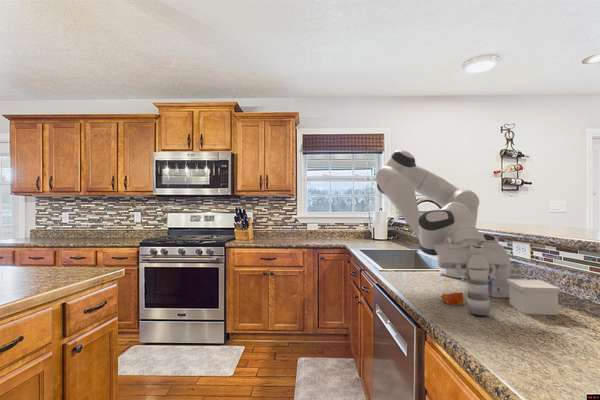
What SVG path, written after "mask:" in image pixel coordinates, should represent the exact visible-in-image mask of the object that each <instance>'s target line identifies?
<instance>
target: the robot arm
mask: <svg viewBox="0 0 600 400" xmlns="http://www.w3.org/2000/svg"><path fill="white" fill-rule="evenodd" d="M375 180H376V183H377V184H376V187H377V191H378V192H380V193H381V194H383V195H385V196H386V197H387V199H388V200H389V201H390V203H392V205H393V206H394V207H395V208H396V210H397V211H398V212H399V214H400V215H401V217H402V218H403V220H404V221H405V222H406V224H407V225H408V227H409V228H410V229H411V231H412V232H413V234H414V235H415V237H416V238H417V240H418V241H417V242H418V246H419V249H420V250H421V251H422V252H423V253H424V254H426V255H429V256H436V259H437V265H438V270H439V275H441V276H447V277H452V278H457V279H461V281H467V282H468V279H469V277H468V274H467V272H466V265H465V263H466V261H467V259H468V258H469V256H470V255H471V253H470V247H471V246H479V247H484V254H483V256H484V257H485V258H486V259H487V261H488V262H489V265H490V269H489V272H491V273H489V276H488V281H495V279H496V278H495V275H494V273H495V270H506V269H507V268H508V267H509V265H510V263H511V261H512V260H511V258H510V256H509V254H508V252H507V250H506V249H505V247H504V246H503V245H502V244H500V243H499V242H500V239H499V237H498V236H496V235H492V234H488V233H484V232H481V231H479V230H478V229H477V220H478V211H479V206H480V198H479V196H478V195H477V194H476V193H475V192H474V191H472V190H470V189H466V188H463V189H461V188H459V187H456V185H453V184H452V183H450V182H449V181H447V180H446V179H445V178H442V177H441V176H438V175H436V174H435V173H433V172H431V171H430V170H427V169H425V168H423V167H420V166H418V165H417V164H416V158H415V157H414V155H413V154H411V153H410V152H409V151H408V150H403V149H398V150H395V151H394V152H393V153H392V154H391V155H390V158H389V160H388V161H387V162H386V164H385V165H384V166H383V167H381V168H379V170H378V171H377V172H376V175H375ZM416 193H418V194H420V195H421V196H424V197H425V198H427V199H429V200H431V201H433V202H434V203H435V204H437V205H439V206H441V208H439V209H436V210H435V209H434V210H427V211H426V212H423V213H422V214H421V212H420V209H419V206H418V203H417V195H416Z"/></svg>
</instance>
